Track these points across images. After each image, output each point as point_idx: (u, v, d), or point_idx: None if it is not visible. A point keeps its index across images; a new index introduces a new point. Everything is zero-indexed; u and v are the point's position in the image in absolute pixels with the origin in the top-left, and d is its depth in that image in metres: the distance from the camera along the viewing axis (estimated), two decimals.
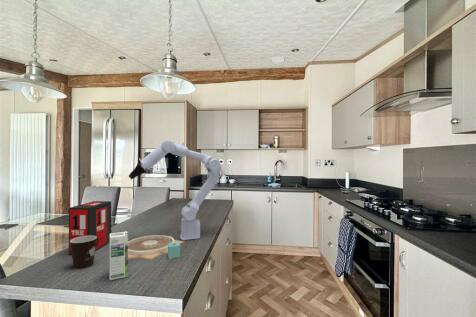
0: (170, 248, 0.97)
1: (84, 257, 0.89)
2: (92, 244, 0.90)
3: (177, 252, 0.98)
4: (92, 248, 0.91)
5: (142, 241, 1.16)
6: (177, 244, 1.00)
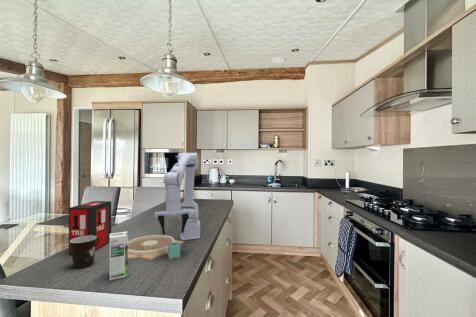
0: (170, 248, 0.97)
1: (84, 257, 0.89)
2: (92, 244, 0.90)
3: (177, 252, 0.98)
4: (92, 248, 0.91)
5: (142, 241, 1.16)
6: (177, 244, 1.00)
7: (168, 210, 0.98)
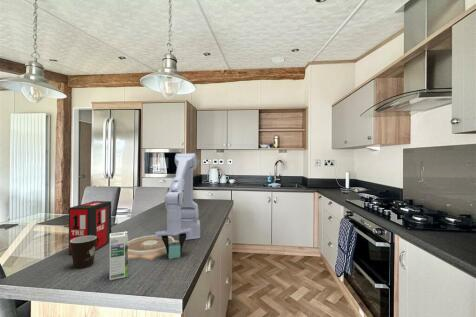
0: (170, 248, 0.97)
1: (84, 257, 0.89)
2: (92, 244, 0.90)
3: (177, 252, 0.98)
4: (92, 248, 0.91)
5: (142, 241, 1.16)
6: (177, 244, 1.00)
7: (169, 230, 0.98)
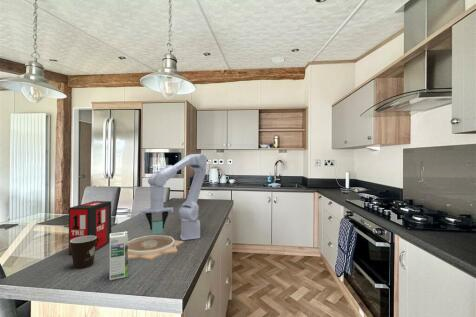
0: (153, 224, 1.08)
1: (84, 257, 0.89)
2: (92, 244, 0.90)
3: (159, 228, 1.09)
4: (92, 248, 0.91)
5: (142, 241, 1.16)
6: (160, 221, 1.11)
7: (152, 208, 1.08)
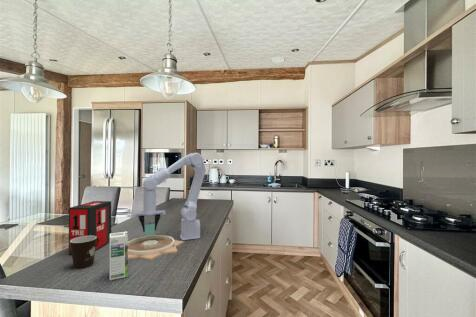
0: (146, 226, 1.13)
1: (84, 257, 0.89)
2: (92, 244, 0.90)
3: (152, 230, 1.14)
4: (92, 248, 0.91)
5: (142, 241, 1.16)
6: (152, 223, 1.16)
7: (145, 211, 1.13)
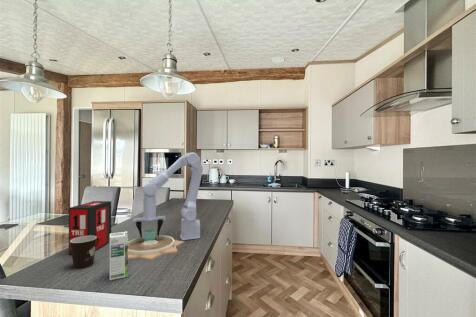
0: (146, 234, 1.13)
1: (84, 257, 0.89)
2: (92, 244, 0.90)
3: (152, 238, 1.14)
4: (92, 248, 0.91)
5: (142, 241, 1.16)
6: (152, 231, 1.16)
7: (145, 216, 1.13)
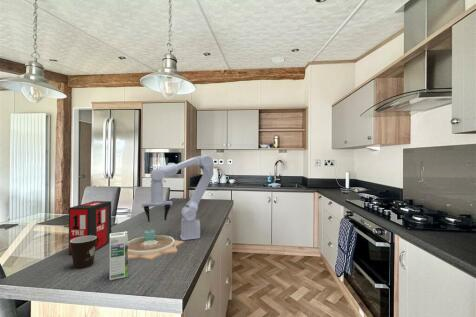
0: (146, 234, 1.13)
1: (84, 257, 0.89)
2: (92, 244, 0.90)
3: (152, 238, 1.14)
4: (92, 248, 0.91)
5: (142, 241, 1.16)
6: (152, 231, 1.16)
7: (152, 201, 1.16)
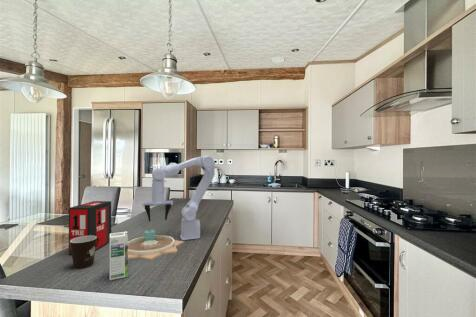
0: (146, 234, 1.13)
1: (84, 257, 0.89)
2: (92, 244, 0.90)
3: (152, 238, 1.14)
4: (92, 248, 0.91)
5: (142, 241, 1.16)
6: (152, 231, 1.16)
7: (153, 200, 1.16)
